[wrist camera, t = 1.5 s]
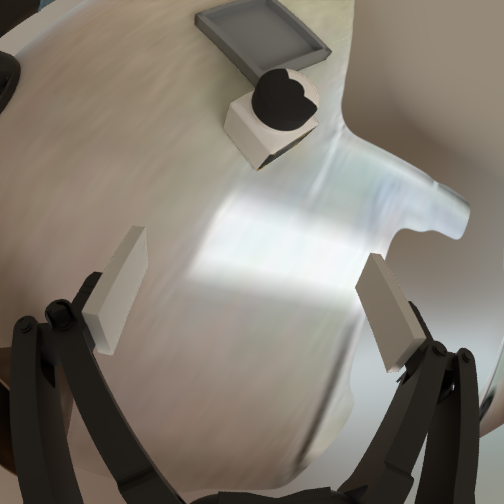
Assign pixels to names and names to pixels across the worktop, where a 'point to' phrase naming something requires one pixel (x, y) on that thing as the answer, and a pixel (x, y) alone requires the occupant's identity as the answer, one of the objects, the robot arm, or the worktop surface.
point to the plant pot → (3, 448)
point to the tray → (261, 37)
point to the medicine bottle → (272, 116)
